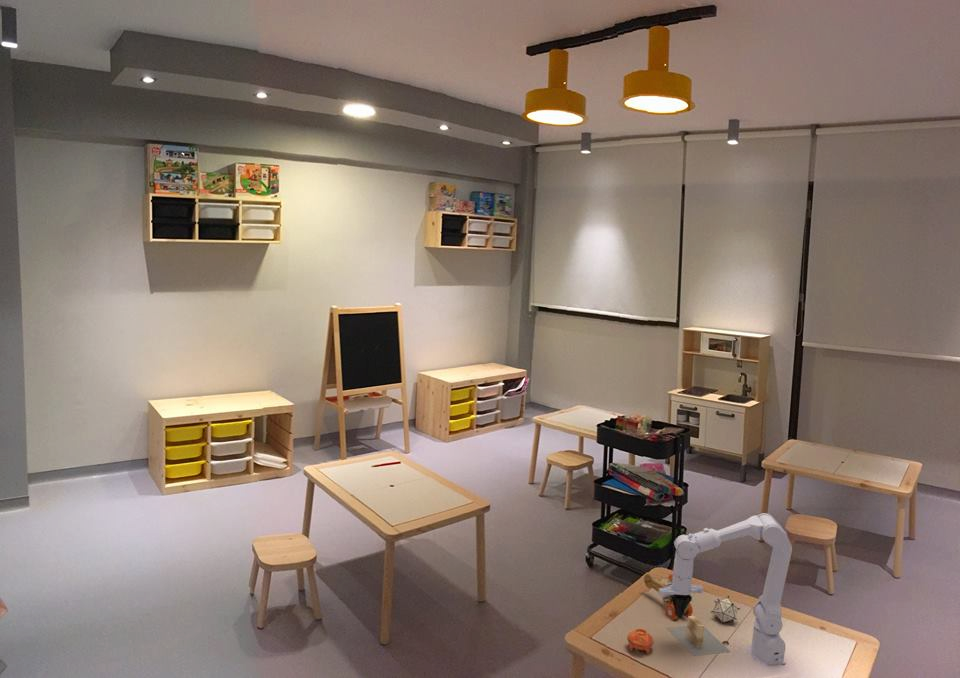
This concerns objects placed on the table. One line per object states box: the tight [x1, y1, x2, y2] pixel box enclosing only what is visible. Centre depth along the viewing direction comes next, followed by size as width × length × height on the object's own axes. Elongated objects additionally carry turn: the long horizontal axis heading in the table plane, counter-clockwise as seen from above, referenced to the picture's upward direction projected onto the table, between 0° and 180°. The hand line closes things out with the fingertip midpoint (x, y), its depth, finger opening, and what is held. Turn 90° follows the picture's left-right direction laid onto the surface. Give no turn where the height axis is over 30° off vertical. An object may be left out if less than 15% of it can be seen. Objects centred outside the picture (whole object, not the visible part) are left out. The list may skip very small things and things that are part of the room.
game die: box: [710, 595, 741, 625], centre depth 234 cm, size 9×8×10 cm
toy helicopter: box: [643, 573, 693, 621], centre depth 240 cm, size 8×21×14 cm, turn 28°
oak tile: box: [686, 615, 705, 647], centre depth 219 cm, size 6×2×7 cm, turn 16°
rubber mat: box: [666, 625, 731, 657], centre depth 221 cm, size 16×13×1 cm
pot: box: [626, 628, 655, 654], centre depth 214 cm, size 8×8×7 cm
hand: (678, 615), depth 217 cm, fingers closed
